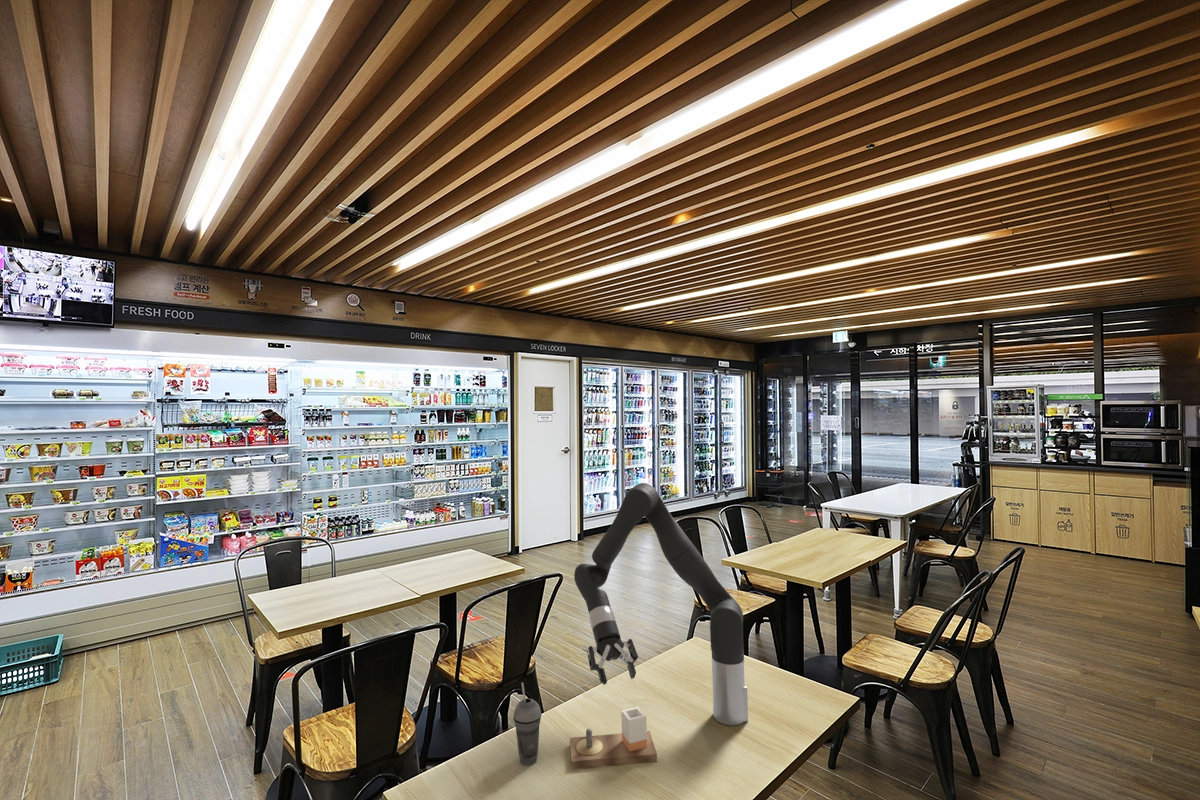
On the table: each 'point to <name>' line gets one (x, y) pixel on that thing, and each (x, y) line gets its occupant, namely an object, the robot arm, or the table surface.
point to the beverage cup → (527, 729)
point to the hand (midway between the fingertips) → (619, 680)
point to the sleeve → (634, 728)
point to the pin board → (607, 751)
